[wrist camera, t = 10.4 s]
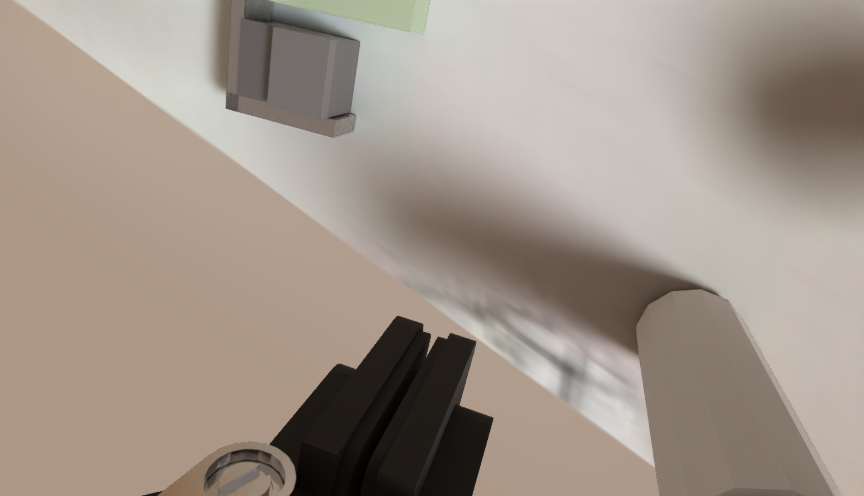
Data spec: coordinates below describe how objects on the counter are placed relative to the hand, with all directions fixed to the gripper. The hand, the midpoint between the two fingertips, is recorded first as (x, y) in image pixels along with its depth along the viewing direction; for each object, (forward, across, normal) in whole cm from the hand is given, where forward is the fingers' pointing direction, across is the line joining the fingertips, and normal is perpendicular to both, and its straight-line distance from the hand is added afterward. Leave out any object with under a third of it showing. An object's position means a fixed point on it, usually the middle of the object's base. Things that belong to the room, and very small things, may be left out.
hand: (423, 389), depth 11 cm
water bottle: (+29, -14, +10) cm, 34 cm away
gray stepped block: (+29, +18, -2) cm, 34 cm away
